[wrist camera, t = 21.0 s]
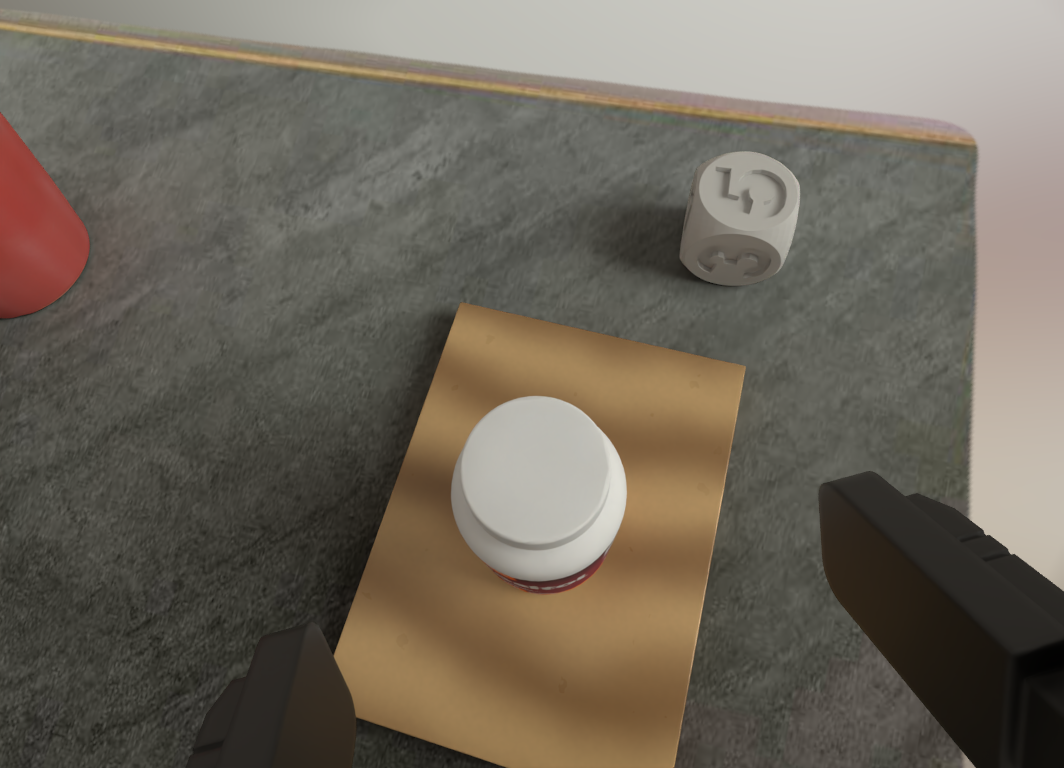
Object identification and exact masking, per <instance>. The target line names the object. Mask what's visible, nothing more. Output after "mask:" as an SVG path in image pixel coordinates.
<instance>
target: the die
mask: <svg viewBox="0 0 1064 768" xmlns="http://www.w3.org/2000/svg"><path fill="white" fill-rule="evenodd" d="M799 202H800V186H799V182H798V181H797V179H796V178H795V176H794V175H793V174H792V173H791V172H790V170H788V169H787V168H786V167H785V166H784V165H783V164H781V163H780V162H778V161H777V160H775V159H773V158H771V157H769V156H766V155H763V154H760V153H755V152H731V153H726V154H723V155H720V156H717V157H715V158H712V159H710V160H708V161H707V162H705V163H703V164H702V165H701V166H699V167H698V168H697V169H696V171H695V174H694V178H693V182H692V186H691V190H690V195H689V200H688V204H687V210H686V215H685V220H684V226H683V232H682V239H681V246H680V260H681V261H682V263H683V264H684V265H685V266H686V267H687V269H688V270H690V271H691V272H692V273H693V274H694V275H696V276H697V277H699V278H701V279H703V280H705V281H708V282H711V283H715V284H720V285H728V286H741V285H749V284H754V283H758V282H761V281H763V280H766V279H768V278H769V277H771V276H772V275H774V274H775V273H777V272H778V271H779V270H780V269H781V267H782V265H783V263H784V261H785V259H786V257H787V254H788V251H789V248H790V245H791V242H792V238H793V235H794V231H795V226H796V222H797V216H798V210H799Z"/></svg>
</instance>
